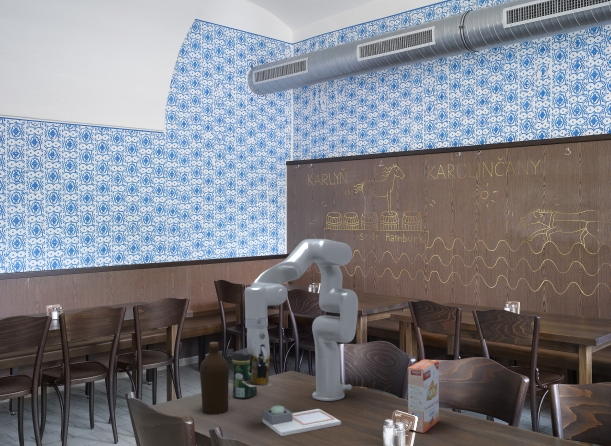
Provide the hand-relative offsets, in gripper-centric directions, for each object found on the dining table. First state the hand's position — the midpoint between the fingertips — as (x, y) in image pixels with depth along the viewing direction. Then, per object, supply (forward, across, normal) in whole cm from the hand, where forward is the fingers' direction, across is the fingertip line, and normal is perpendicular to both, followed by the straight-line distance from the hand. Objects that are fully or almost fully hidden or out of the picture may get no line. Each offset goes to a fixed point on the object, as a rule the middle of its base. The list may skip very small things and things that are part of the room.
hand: (258, 374), depth 213 cm
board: (+17, -6, -13) cm, 22 cm away
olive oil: (+17, +22, +9) cm, 30 cm away
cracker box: (+18, -29, -48) cm, 58 cm away
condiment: (+3, 0, 0) cm, 3 cm away
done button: (+15, -2, -6) cm, 16 cm away
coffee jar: (+18, +35, -7) cm, 40 cm away
